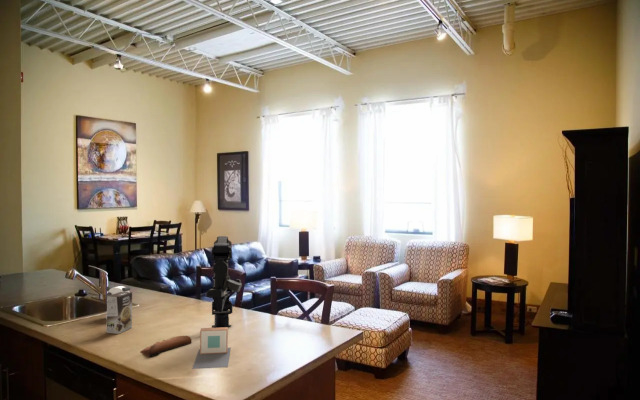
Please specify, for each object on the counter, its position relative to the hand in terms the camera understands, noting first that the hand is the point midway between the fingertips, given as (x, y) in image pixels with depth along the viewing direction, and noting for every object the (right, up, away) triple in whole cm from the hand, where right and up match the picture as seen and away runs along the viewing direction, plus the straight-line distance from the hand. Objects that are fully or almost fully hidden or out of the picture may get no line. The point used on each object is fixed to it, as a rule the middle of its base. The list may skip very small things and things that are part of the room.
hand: (220, 311), depth 176 cm
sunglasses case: (-19, -12, -11) cm, 25 cm away
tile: (+1, -11, -16) cm, 19 cm away
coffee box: (-47, -11, +11) cm, 50 cm away
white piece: (-57, -11, +31) cm, 66 cm away
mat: (+2, -12, -21) cm, 24 cm away
